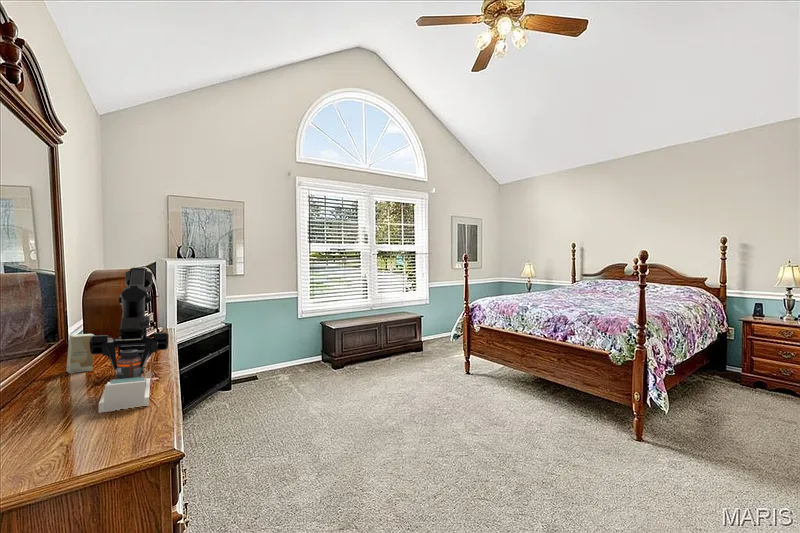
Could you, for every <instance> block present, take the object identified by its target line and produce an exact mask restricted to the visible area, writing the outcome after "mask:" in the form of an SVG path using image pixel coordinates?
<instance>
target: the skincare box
mask: <svg viewBox="0 0 800 533" xmlns="http://www.w3.org/2000/svg"><path fill="white" fill-rule="evenodd" d="M68 336H69V338H68V347H67V359H66V370H65V372H67V373H68V374H76V372H77V373H84V371H85V372H92V371H93V365H94V355H95V354H91V352H90V344H89V342H90V338H91V337H92V336H95V334H93V333H81V334H80V333H79V334H78V333H77V334H70V335H68Z"/></svg>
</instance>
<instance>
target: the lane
mask: <svg viewBox="0 0 800 533" xmlns="http://www.w3.org/2000/svg"><path fill="white" fill-rule="evenodd" d="M150 388H151V377H146V378H145V377H144V381H136V382H126V383H116V384H110V381H107V383H106V384H104V390H103V393H102V394H101V397H100V400H99V402H98V413H100V414H101V413H107V412H114V411H115V410H117V411H121V410H120V409H124V410H129V409H128V408H132V409H135V408H134V407H140V406H148V405H150V390H151V389H150ZM148 407H149V406H148ZM140 408H141V407H140Z"/></svg>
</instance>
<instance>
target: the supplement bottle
mask: <svg viewBox="0 0 800 533" xmlns="http://www.w3.org/2000/svg"><path fill="white" fill-rule="evenodd" d="M141 363H142V359H141V358H140V357H138V350H135V349H130V350H124V351H123V350H121V356H120V357H119V358H118V359H116V370H115V379H124V378H135V377H142V373H141Z"/></svg>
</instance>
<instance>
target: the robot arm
mask: <svg viewBox="0 0 800 533" xmlns="http://www.w3.org/2000/svg"><path fill="white" fill-rule="evenodd" d="M124 275H125V276H124V284H125V286H126V287H124V288H123V291H122V292H121V293H120V295H119V297H118V303H119V305H121V310H122V314H121V320H120V326H119V331H118V338H114V337H109V334H103V335H101V334H99V335H95V334H94V335H95V336H92V337H91V338H90V342H89V344H90V352H91V354H94V355H102V356H104V357H107V358H108V359H109V361H110V363H111V365H112V368H113V370H114V371H116V363H117V356H118V357H121V351H124V350H130V349H135V350H138V357H140V358H141V359H142V363H141V374H144V373H145V364H146V363H147V361H148V360H149V358H150V357H151V356H152V355H153V353H157V351H164V350H167V349H168V348H169V333H168V332H166V331H165V332H153V336H152V337H150V335H147V334H148V332H147V331H148V329H149V328H150V315H145V314H146V309H145V308H147V305H149V304H150V302H152V296H151V295H150V293H149V292H150V289H151V288H150V287H151V286H153V272H151V271H149V270H148V269H147V268H146V267H130V268H129V270H127V271H126V272H125V273H124ZM116 347H118V348H117V349H118V350H117V354H118V355H117V356H116Z"/></svg>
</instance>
